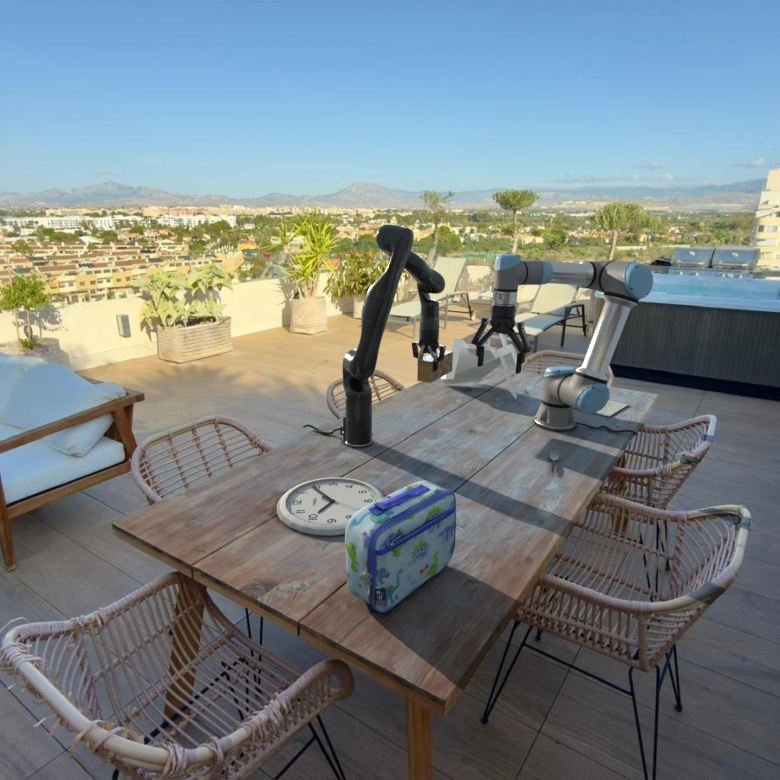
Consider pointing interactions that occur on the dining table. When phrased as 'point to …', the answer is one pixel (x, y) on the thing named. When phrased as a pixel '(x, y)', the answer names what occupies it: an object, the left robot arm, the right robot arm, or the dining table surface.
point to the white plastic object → (470, 372)
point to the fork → (554, 460)
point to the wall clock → (325, 504)
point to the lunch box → (399, 543)
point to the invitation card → (611, 408)
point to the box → (426, 367)
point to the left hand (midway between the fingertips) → (427, 369)
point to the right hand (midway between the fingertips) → (498, 369)
